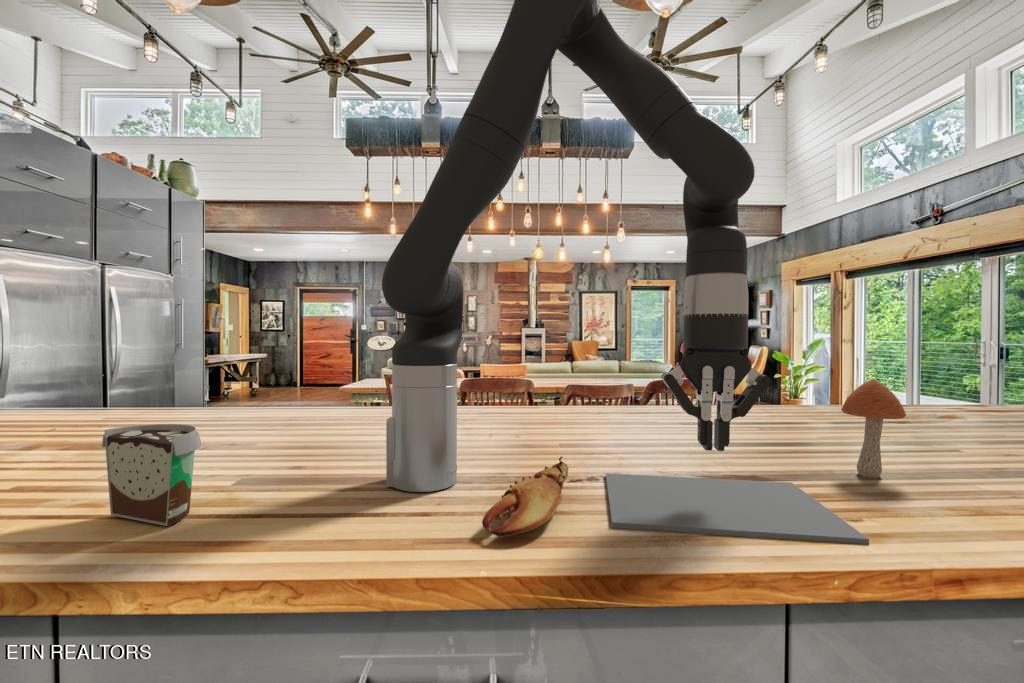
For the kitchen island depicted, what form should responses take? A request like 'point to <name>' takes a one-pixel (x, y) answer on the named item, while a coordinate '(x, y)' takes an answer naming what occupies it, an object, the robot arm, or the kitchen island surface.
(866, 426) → the mushroom
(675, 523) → the mat
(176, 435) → the food container
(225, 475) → the kitchen island surface
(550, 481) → the crab claw
